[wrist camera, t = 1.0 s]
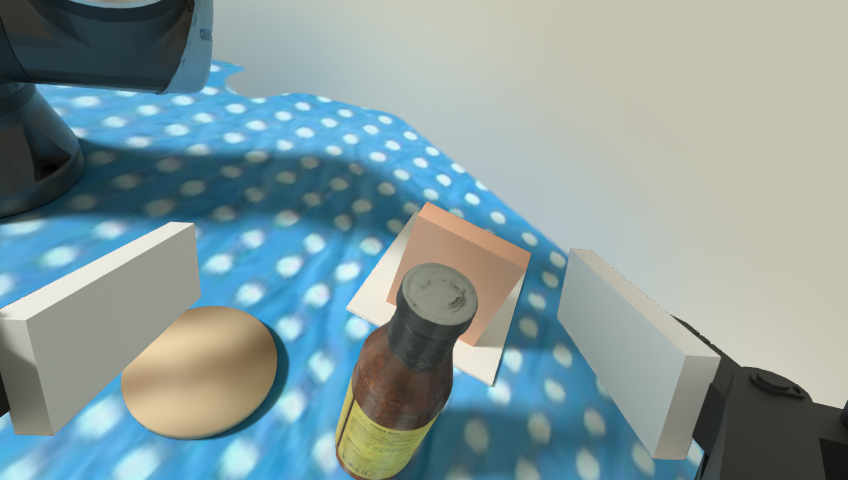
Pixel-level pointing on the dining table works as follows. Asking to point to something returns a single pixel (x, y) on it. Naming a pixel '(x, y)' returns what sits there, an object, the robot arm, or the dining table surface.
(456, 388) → the dining table surface
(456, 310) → the sauce bottle
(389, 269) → the white mat
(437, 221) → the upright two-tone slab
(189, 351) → the cork coaster
